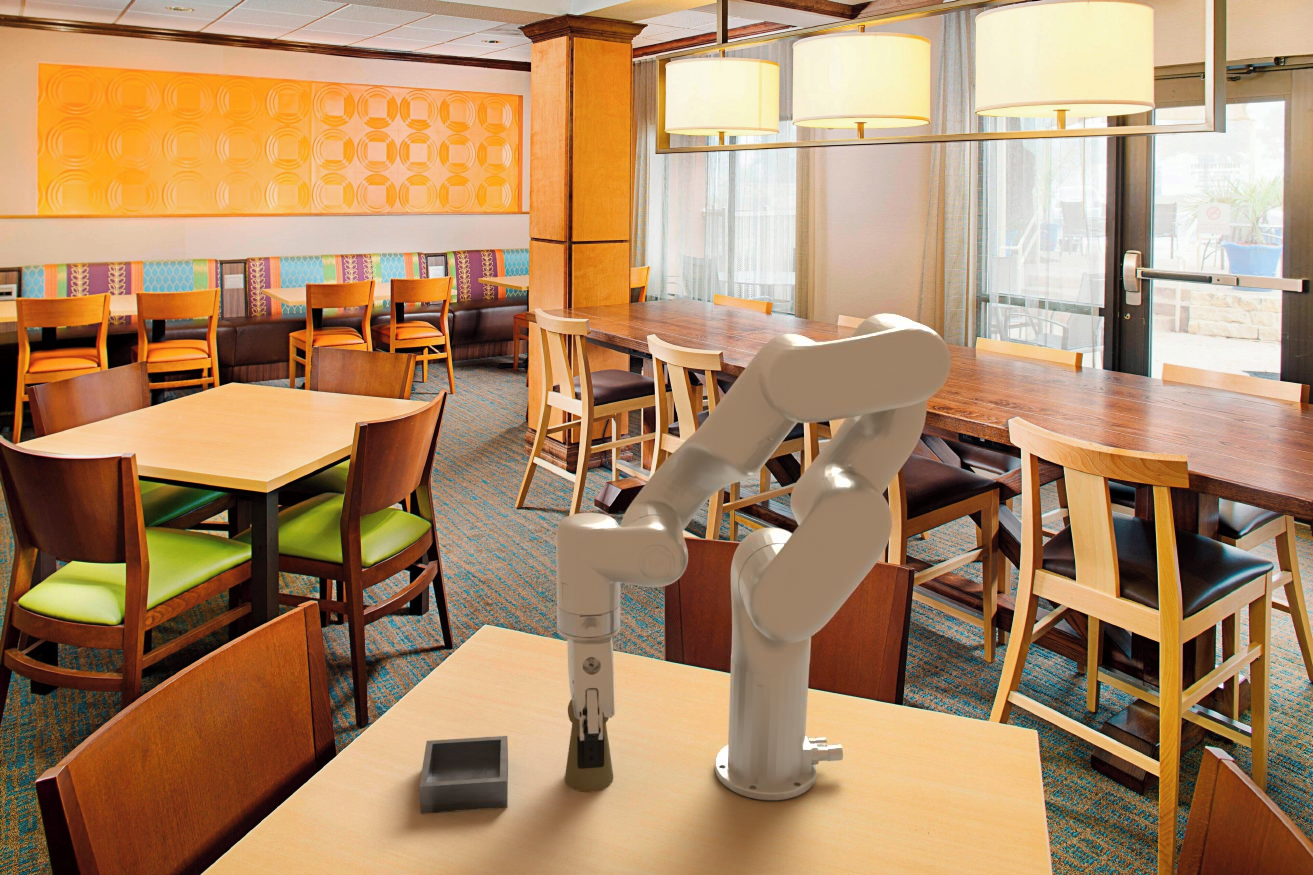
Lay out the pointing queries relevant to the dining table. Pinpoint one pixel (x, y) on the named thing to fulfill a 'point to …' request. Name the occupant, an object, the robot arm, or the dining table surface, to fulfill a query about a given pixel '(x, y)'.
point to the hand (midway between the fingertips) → (589, 753)
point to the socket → (464, 774)
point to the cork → (588, 776)
